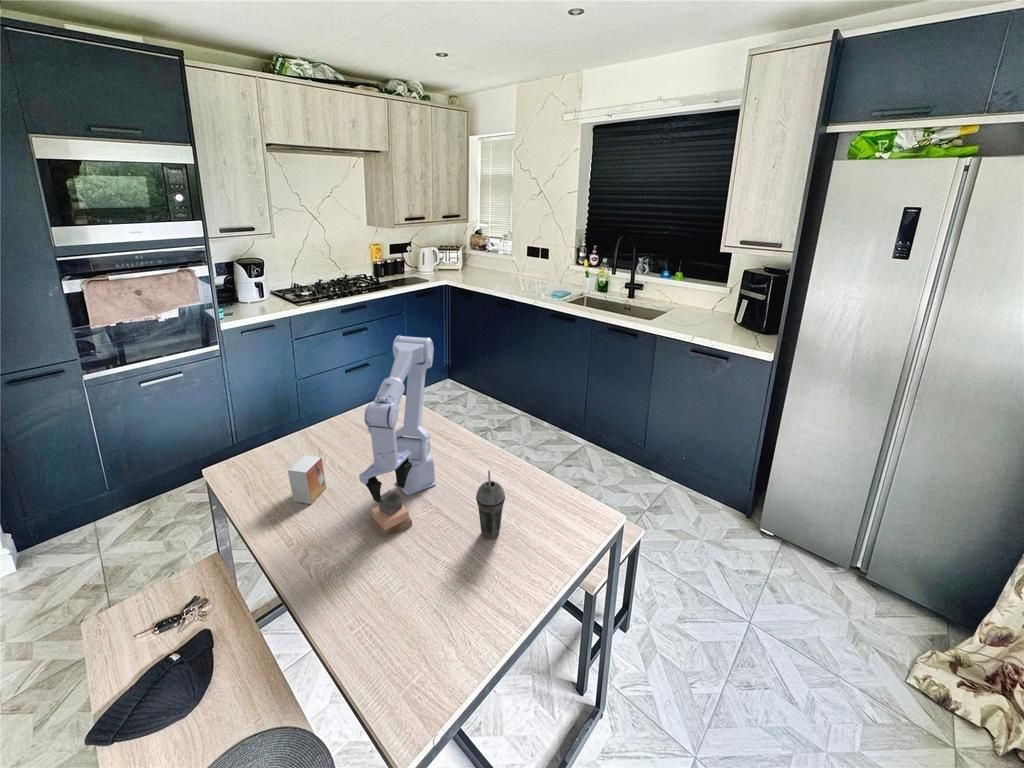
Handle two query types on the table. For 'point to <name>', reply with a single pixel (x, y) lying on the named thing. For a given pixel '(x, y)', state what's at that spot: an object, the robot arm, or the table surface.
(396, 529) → the walnut slab
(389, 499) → the charcoal cube
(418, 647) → the table surface
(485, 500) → the beverage cup
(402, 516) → the terracotta slab
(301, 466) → the small box
